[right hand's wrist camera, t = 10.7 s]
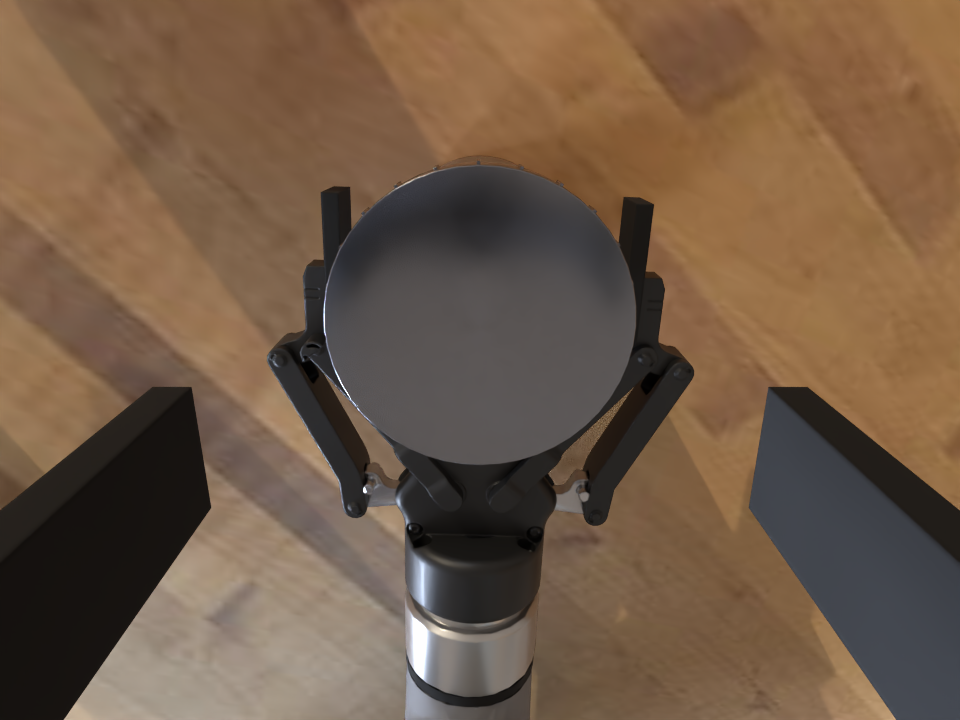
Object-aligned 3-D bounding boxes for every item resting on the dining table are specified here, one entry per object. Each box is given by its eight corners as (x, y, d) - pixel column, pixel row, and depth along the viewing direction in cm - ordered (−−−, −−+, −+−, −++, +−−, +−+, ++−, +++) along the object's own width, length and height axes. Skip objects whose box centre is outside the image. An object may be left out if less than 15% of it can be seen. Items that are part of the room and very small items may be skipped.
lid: (665, 385, 23) (678, 403, 22) (409, 482, 25) (404, 505, 23) (566, 106, 20) (573, 105, 19) (278, 235, 21) (264, 243, 20)
